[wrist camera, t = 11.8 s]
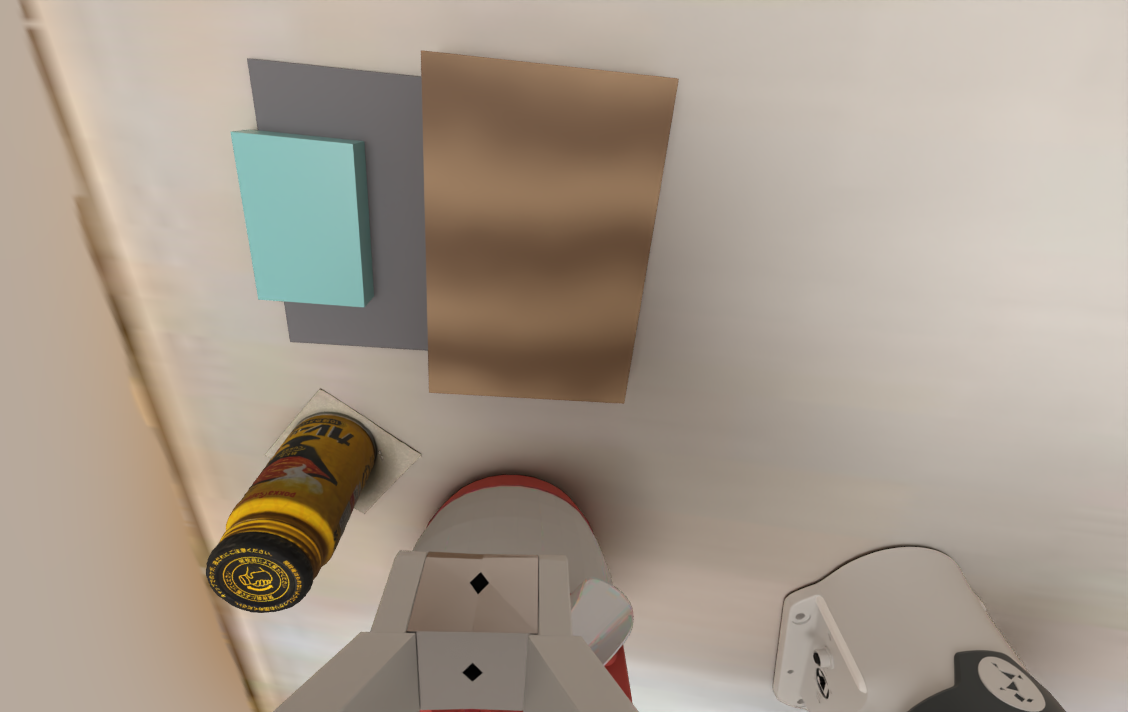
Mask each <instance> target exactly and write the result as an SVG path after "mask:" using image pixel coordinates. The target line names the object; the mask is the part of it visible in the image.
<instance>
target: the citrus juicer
mask: <svg viewBox="0 0 1128 712" xmlns="http://www.w3.org/2000/svg"><path fill="white" fill-rule="evenodd" d="M413 551H420V552H429V551H431V552H450V553H468V554H523V555H538V556H539V555H566V557H567V559H568V571H569V587H570V603H571V619H572V635H573V636H582V638H583V639H584V640H585V642H586V643H587V644H588V646H589V647H590V648H591V650H592V651H593V652H594V654H595V655H596V656H597V657H598V659H599V660H600V661H601V663H602V664H603V665H604V667H605V668H606V669H607V671H608V672H609V673H610V675H611V676H612V677H613V679H614V680H615V681H616V683H617V684H618V685H619V687H620V688H621V689H622V690H623V692H624V693H625V694H626V696H627V697H628V698H629V700H630V701H631V702H632V697H631V691H630V684H629V678H628V671H627V665H626V659H625V652H624V646H623V644H624V642H625V641H626V639H627V638H628V636H629V635H630V633H631V630H632V627H633V610H632V606H631V604H630V602H629V600H628V599H627V597H626V596H625V595H624V594H623V593H622V592H621V591H620V590H619V589H618V588H616V587H615V586H613V583H612V579H611V575H610V572H609V569H608V567H607V564H606V561H605V559H604V556H603V553H602V551H601V549H600V547H599V545H598V542H597V540H596V538H595V536H594V533H593V531H592V529H591V527H590V525H589V522H588V521H587V519H586V518H585V517H584V515H583V514H582V512H581V511H580V510H579V509H578V507H577V506H576V505H575V504H574V502H573V501H572V500H571V499H570V497H569V496H567V495H566V494H565V493H564V492H563V491H561V490H560V489H559V488H557V487H555V486H553V485H551V484H550V483H548V482H545V481H542V480H539V479H536V478H534V477H528V476H522V475H499V476H492V477H487V478H484V479H481V480H478V481H475V482H473V483H471V484H469V485H467V486H465V487H463V488H462V489H460V490H459V491H458V492H457V493H455V494H454V495H453V496H452V497H451V498H450V499H449V500H448V501H447V502H445V504H444V505H443V506H442V507H441V508H440V509H439V510H438V511H437V513H436V514H435V515H434V516H433V518H432V519H431V520H430V521H429V524H428V526H427V528H426V530H425V531H424V532H423V534H422V535H421V537H420V538H419V539H418V541H417V543H416V545H415V547H414V549H413ZM632 704H633V703H632ZM420 712H523V711H514V710H488V709H445V710H420Z"/></svg>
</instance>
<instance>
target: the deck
mask: <svg viewBox="0 0 1128 712" xmlns="http://www.w3.org/2000/svg"><path fill="white" fill-rule="evenodd" d="M421 76H422V117H423V159H424V201H425V243H426V284H427V326H428V368H429V393H446V394H463V395H481V396H499V397H517V398H534V399H552V400H570V401H588V402H605V403H623V404H624V401H625V395H626V389H627V383H628V378H629V372H630V366H631V360H632V354H633V348H634V342H635V336H636V330H637V324H638V318H639V312H640V306H641V300H642V294H643V288H644V282H645V276H646V270H647V264H648V258H649V253H650V247H651V241H652V235H653V229H654V223H655V217H656V211H657V205H658V199H659V193H660V187H661V181H662V175H663V169H664V163H665V157H666V151H667V145H668V139H669V134H670V128H671V122H672V116H673V110H674V104H675V98H676V92H677V86H678V80H679V79H677V78H667V77H658V76H649V75H640V74H631V73H622V72H613V71H604V70H595V69H585V68H576V67H567V66H558V65H549V64H540V63H531V62H522V61H512V60H503V59H494V58H485V57H476V56H467V55H458V54H449V53H440V52H430V51H421Z"/></svg>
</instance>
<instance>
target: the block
mask: <svg viewBox="0 0 1128 712" xmlns="http://www.w3.org/2000/svg"><path fill="white" fill-rule="evenodd" d="M231 137H232V143H233V150H234V156H235V162H236V168H237V174H238V180H239V186H240V192H241V198H242V204H243V210H244V216H245V222H246V228H247V234H248V240H249V246H250V252H251V258H252V264H253V270H254V276H255V282H256V288H257V294H258V299H259V300H273V301H286V302H299V303H312V304H325V305H339V306H352V307H365V306H366V305H367V304H368V303H369V301H370V300H371V299H372V298H373V297H374V287H373V271H372V255H371V239H370V223H369V208H368V192H367V176H366V160H365V144H364V141H357V140H347V139H337V138H327V137H318V136H308V135H298V134H288V133H279V132H269V131H259V130H241V131H232V132H231Z"/></svg>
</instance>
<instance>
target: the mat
mask: <svg viewBox="0 0 1128 712" xmlns="http://www.w3.org/2000/svg"><path fill="white" fill-rule="evenodd" d="M247 61H248V68H249V74H250V81H251V88H252V94H253V101H254V107H255V114H256V121H257V127H258V130H259V131H269V132H279V133H288V134H298V135H308V136H318V137H327V138H337V139H347V140H357V141H364V144H365V160H366V176H367V192H368V208H369V223H370V239H371V255H372V271H373V287H374V297H373V298H372V299H371V300H370V301H369V303H368V304H367V305H366V306H365V307H352V306H339V305H325V304H312V303H299V302H286V301H284V305H285V311H286V318H287V324H288V331H289V338H290V342H300V343H316V344H332V345H348V346H364V347H380V348H396V349H412V350H428V326H427V284H426V243H425V201H424V159H423V117H422V77H419V76H409V75H400V74H390V73H381V72H371V71H362V70H352V69H343V68H333V67H324V66H314V65H305V64H295V63H286V62H277V61H267V60H258V59H248V58H247Z"/></svg>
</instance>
